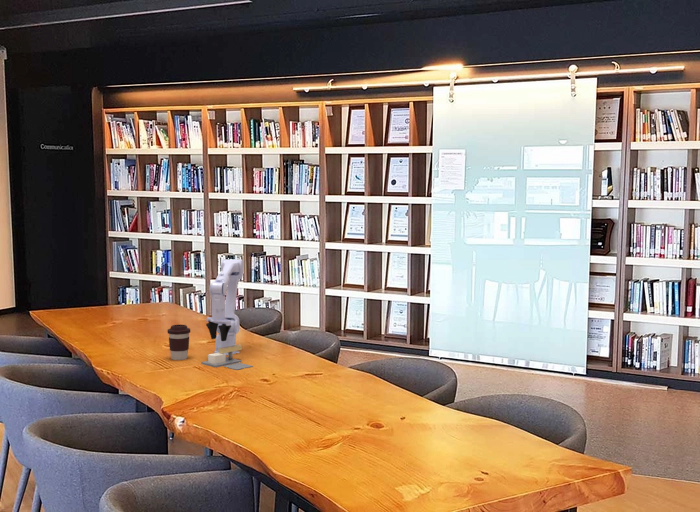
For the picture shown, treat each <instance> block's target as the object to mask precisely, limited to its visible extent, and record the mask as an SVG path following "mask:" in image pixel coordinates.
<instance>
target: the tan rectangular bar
mask: <svg viewBox="0 0 700 512" xmlns="http://www.w3.org/2000/svg"><path fill="white" fill-rule="evenodd" d="M241 350H242V351H243V345H242V344H236V345H233V346H227V347H222V348H219V353H227V352H233V351H238V352H239V351H241Z"/></svg>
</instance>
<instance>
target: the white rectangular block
mask: <svg viewBox="0 0 700 512" xmlns="http://www.w3.org/2000/svg"><path fill="white" fill-rule="evenodd" d="M226 357H227V355H226V354H224V353H214V352H213V353H209V354H207V361H208V363H212V364H218V363H223V362H226Z"/></svg>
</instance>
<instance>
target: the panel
mask: <svg viewBox="0 0 700 512" xmlns="http://www.w3.org/2000/svg"><path fill="white" fill-rule="evenodd" d="M233 356H234V354H233V352H228V355H227V356H226V362H223V363H218V364H212V363H208V360H205V361H201V365H204V366H208V367H211V368H212V367H213V368H215V367H216V368H220V367H224V366H226V365H231V364H236V363H239V362H240V363H242V360H241V359H237V358H234V357H233Z"/></svg>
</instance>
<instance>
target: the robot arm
mask: <svg viewBox="0 0 700 512" xmlns="http://www.w3.org/2000/svg"><path fill="white" fill-rule="evenodd" d="M244 265H245V264H244V261H243V259H242V258H241V259H226V258H223V259H222V260H221V262H220V271H221V272H220V273H218V274H217V277H216V278H215V280H214V281H213V282H211V283H210V285H209V294H210V299H211V316H208V317H206V323H205V325H206V328H207V330H208V331H209V335H210V339H211V340H215V350H214V351H213V353H219V348H222V347H227V346H233V345H237V341H236V340H237V334H238V333H239V332H240V317H239V316H238V315H236V313H235V311H236V303H237V302H236V301H237V296H238V295H237V294H238V285H239V281H240V280H242V279H243V277H244V269H245V268H244V267H245V266H244ZM236 353H237V354H240V353H241V352H240V351H239V350H238V351H233V355H236ZM224 354H226V356H228V352H227V353H224Z"/></svg>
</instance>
